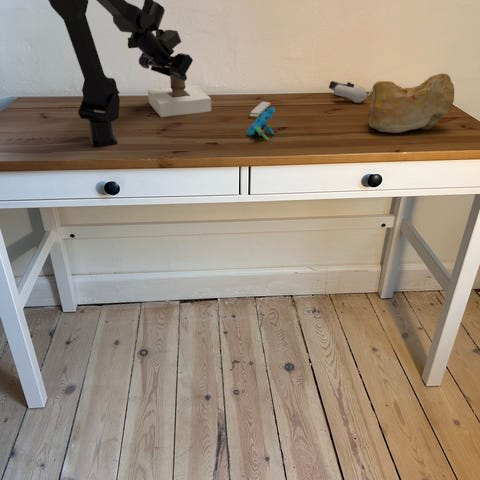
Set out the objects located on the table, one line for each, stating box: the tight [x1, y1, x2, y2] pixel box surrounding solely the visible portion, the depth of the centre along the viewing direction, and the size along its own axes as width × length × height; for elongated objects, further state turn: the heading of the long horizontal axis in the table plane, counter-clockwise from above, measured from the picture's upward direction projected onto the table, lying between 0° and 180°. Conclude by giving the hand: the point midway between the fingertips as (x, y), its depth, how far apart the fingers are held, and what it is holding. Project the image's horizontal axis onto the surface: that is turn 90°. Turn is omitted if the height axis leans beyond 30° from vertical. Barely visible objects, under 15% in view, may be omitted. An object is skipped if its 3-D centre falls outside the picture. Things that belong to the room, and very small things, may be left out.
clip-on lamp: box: [328, 80, 373, 104], centre depth 156 cm, size 12×6×18 cm
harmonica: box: [247, 101, 273, 120], centre depth 145 cm, size 15×3×2 cm, turn 160°
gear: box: [246, 105, 276, 141], centre depth 127 cm, size 11×6×10 cm
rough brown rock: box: [367, 73, 455, 134], centre depth 132 cm, size 23×17×15 cm
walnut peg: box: [169, 55, 186, 97], centre depth 144 cm, size 5×5×13 cm
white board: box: [147, 84, 212, 118], centre depth 148 cm, size 16×16×4 cm
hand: (180, 78), depth 145 cm, fingers closed on walnut peg, 4 cm apart
